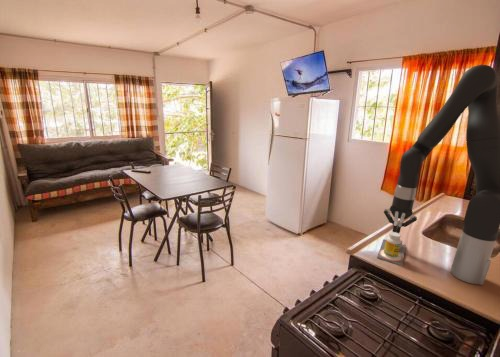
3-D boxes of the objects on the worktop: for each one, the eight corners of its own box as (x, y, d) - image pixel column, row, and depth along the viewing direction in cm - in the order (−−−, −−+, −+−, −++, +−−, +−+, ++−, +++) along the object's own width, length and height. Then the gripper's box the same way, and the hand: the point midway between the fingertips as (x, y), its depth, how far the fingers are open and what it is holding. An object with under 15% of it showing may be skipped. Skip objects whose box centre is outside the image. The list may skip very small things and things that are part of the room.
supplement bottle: (387, 249, 110) (392, 229, 108) (400, 256, 106) (405, 235, 103) (380, 253, 108) (385, 232, 105) (393, 260, 103) (398, 238, 101)
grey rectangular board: (405, 246, 115) (406, 240, 115) (401, 265, 101) (403, 259, 100) (383, 240, 120) (384, 234, 119) (376, 257, 106) (378, 251, 105)
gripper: (385, 194, 108) (377, 231, 113) (422, 202, 101) (412, 241, 106) (388, 190, 114) (380, 225, 119) (423, 197, 107) (413, 234, 112)
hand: (395, 233), depth 112 cm, fingers closed
